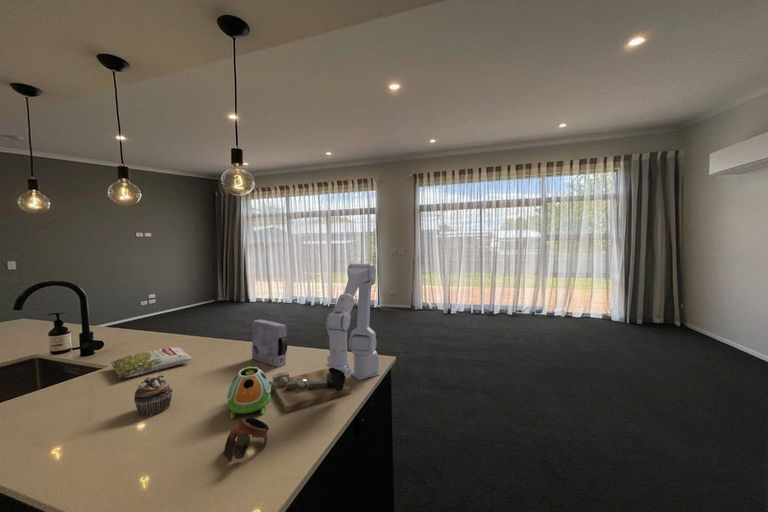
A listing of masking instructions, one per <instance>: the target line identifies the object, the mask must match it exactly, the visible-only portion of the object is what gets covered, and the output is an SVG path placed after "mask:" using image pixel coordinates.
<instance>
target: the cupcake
mask: <svg viewBox="0 0 768 512" xmlns="http://www.w3.org/2000/svg"><path fill="white" fill-rule="evenodd" d="M166 379H167V377H165V376H163V375H158V376H157V377H153V378H152V377H146V378H145V379H144V381H142V382H140V384H139V385H138V387H137V388H136V390H135V393H134V399H133V402H134V404H135V407H136V411H137V415H138V414H139V417H141V416H142V417H143V418H146V416H148V417H153V415H154V416H157V415H160V414H162V413H164V412H166V411H167V410H169V408H170V407H171V401H172V395H173V391H174V390H173V389H172V387H170V383H169V382H167V381H166Z"/></svg>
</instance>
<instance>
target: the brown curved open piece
mask: <svg viewBox="0 0 768 512" xmlns="http://www.w3.org/2000/svg"><path fill="white" fill-rule="evenodd" d="M269 429H270V427H269V425H268V424H266V423H265V422H264V421H262V420H260V419H257V418H254V417H251V416H250V417H249V416H245V417H242V419H241V421H240V422H239V423H237V424H236V425H235V426H234V427H232V429H231V430H230V433H229V434H228V436H227V439H226V442H225V444H224V445H225V446H224V451H223V455H224V458H225V459H227V460H228V461H229V462H232V461H233V458H235V459H237V460H239V459H243V458H244V457H245V455H246V451H247V449H248V448H249V446H250V445H251V438H257V439H258V438H261V439H264V443H263V448H266V446H267V443H268V439H269V438H268V431H269Z"/></svg>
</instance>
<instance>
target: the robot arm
mask: <svg viewBox="0 0 768 512" xmlns="http://www.w3.org/2000/svg"><path fill="white" fill-rule="evenodd" d="M376 270H377V269H376V266H375V265H374V263H352V262H351V263H349V265H348V267H347V270H346V271H347V272H346V273H347V279H348V280H347V283H346V285H345V290H344V293H342V294H340V295H339V297H338V299H337V301H336V304H335V305H334V308H333V310H332V311H331V312H330V313H329V314H327V316H326V318H325V319H326V320H325V328H326V329H327V335H328V336H329V355H328V356H327V363H326V364H325V365H326V368H328V369H329V372H330V374H331V376H332V379H333V382H334V387H335V390H336V391H341V390H343V386H344V382H345V383H346V378H347V377H349V376H352V377H354V378H355V379H357V380H358V381H361V380H364V379H368V377H369V378H372V377H376V376H378V375H381V373H380V372H379V371H380V367H379V366H380V365H379V363H380V362H379V361H380V360H379V354H378V352H377V350H376V348H377V342H378V341H377V337H376V336H377V333H376V332H375V330H374V329H372V328H371V327H370V319H371V318H370V317H371V316H370V315H371V299H372V286H374V285H375V284H376V276H377V272H376ZM357 291H358V297H357V299H358V301H357V302H358V303H357V315H356V316H357V319H356V320H357V321H356V328H354V329H352V331H351V332H350V337H349V340H348V330H349V328H350V325H351V318H352V315H351V314H352V311H353V307H354V306H355V302H356V300H355V299H354V298H355V295H356V293H357ZM348 347H349V350H350V351H351V352H352V354H353V370H352V368H351V367H350V364H349V360H348Z"/></svg>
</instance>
